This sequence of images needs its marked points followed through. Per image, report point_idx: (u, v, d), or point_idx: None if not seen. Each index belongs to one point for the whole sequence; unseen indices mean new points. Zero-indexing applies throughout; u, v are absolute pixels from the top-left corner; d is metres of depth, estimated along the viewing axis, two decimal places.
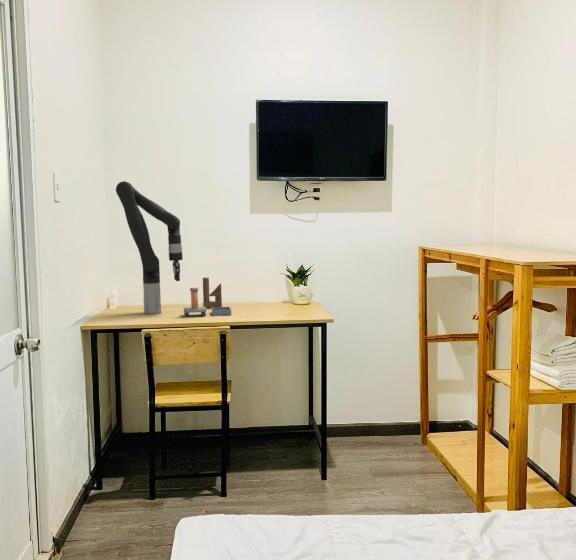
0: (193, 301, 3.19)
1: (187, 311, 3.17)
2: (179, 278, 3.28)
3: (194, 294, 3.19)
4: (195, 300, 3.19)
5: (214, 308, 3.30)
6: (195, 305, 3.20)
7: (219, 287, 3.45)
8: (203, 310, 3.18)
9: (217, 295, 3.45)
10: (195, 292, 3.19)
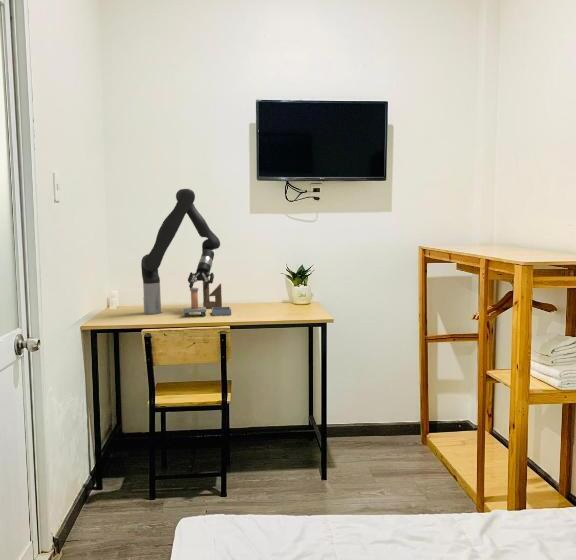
0: (193, 301, 3.19)
1: (187, 311, 3.17)
2: (206, 287, 3.26)
3: (194, 294, 3.19)
4: (195, 300, 3.19)
5: (214, 308, 3.30)
6: (195, 305, 3.20)
7: (219, 287, 3.45)
8: (203, 310, 3.18)
9: (217, 295, 3.45)
10: (195, 292, 3.19)
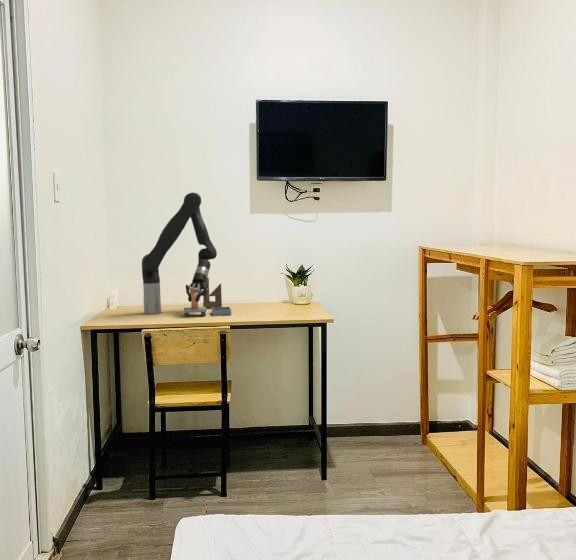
0: (193, 301, 3.19)
1: (187, 311, 3.17)
2: None
3: (194, 294, 3.19)
4: (195, 300, 3.19)
5: (214, 308, 3.30)
6: (195, 305, 3.20)
7: (219, 287, 3.45)
8: (203, 310, 3.18)
9: (217, 295, 3.45)
10: (195, 292, 3.19)
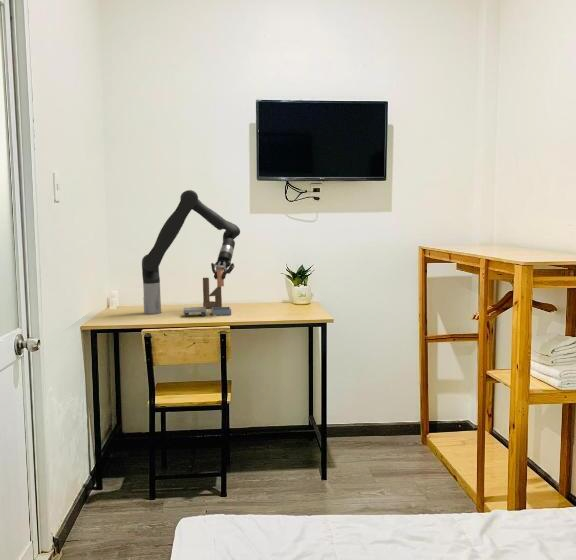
0: (219, 279, 3.22)
1: (187, 311, 3.17)
2: None
3: (220, 272, 3.22)
4: (221, 278, 3.22)
5: (214, 308, 3.30)
6: (221, 283, 3.23)
7: (219, 287, 3.45)
8: (203, 310, 3.18)
9: (217, 295, 3.45)
10: (221, 270, 3.22)
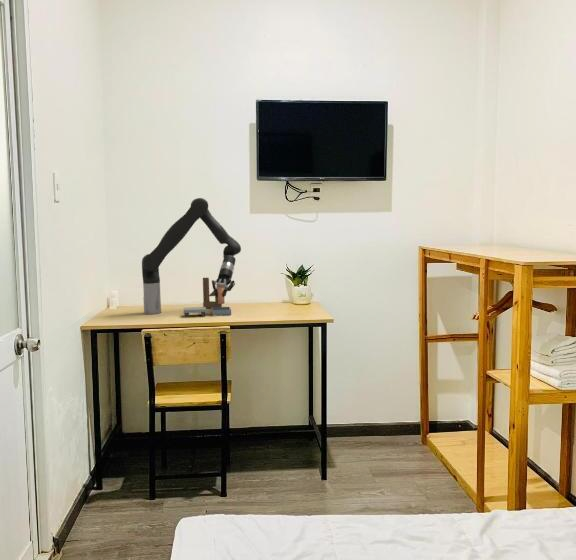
0: (220, 296, 3.23)
1: (187, 311, 3.17)
2: None
3: (221, 289, 3.23)
4: None
5: (214, 308, 3.30)
6: (222, 300, 3.24)
7: None
8: (203, 310, 3.18)
9: None
10: (222, 287, 3.23)
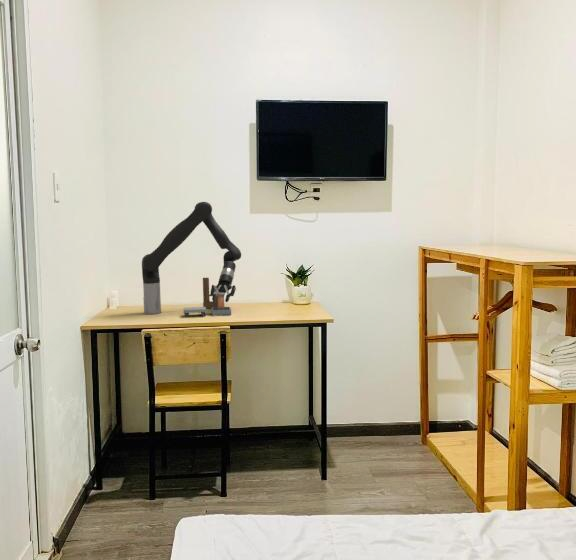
0: (220, 306, 3.24)
1: (187, 311, 3.17)
2: None
3: (221, 299, 3.24)
4: (222, 305, 3.24)
5: (214, 308, 3.30)
6: None
7: None
8: (203, 310, 3.18)
9: None
10: (222, 297, 3.24)
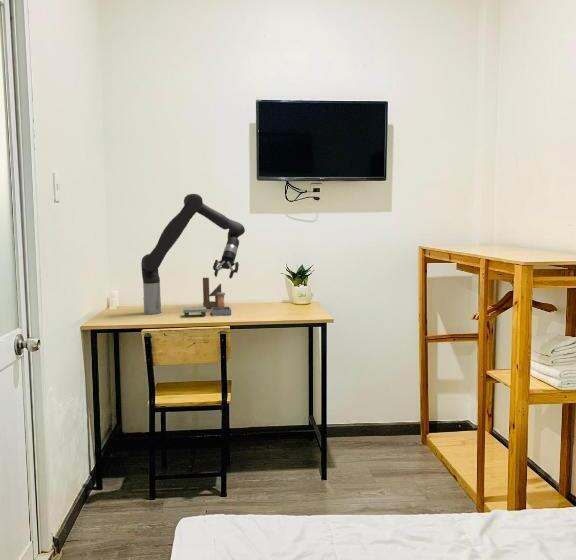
0: (220, 306, 3.24)
1: (187, 311, 3.17)
2: (231, 276, 3.33)
3: (221, 299, 3.24)
4: (222, 305, 3.24)
5: (214, 308, 3.30)
6: (222, 309, 3.24)
7: (219, 287, 3.45)
8: (203, 310, 3.18)
9: None
10: (222, 297, 3.24)
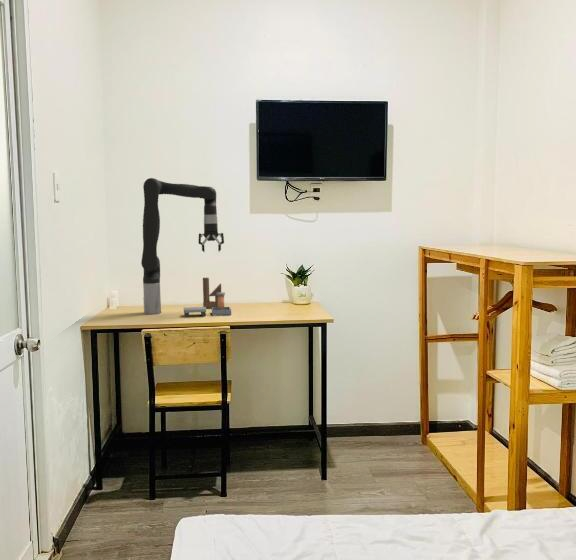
0: (220, 305, 3.24)
1: (187, 311, 3.17)
2: None
3: (221, 299, 3.24)
4: (222, 304, 3.24)
5: (214, 308, 3.30)
6: (222, 309, 3.24)
7: (219, 287, 3.45)
8: (203, 310, 3.18)
9: None
10: (222, 297, 3.24)
